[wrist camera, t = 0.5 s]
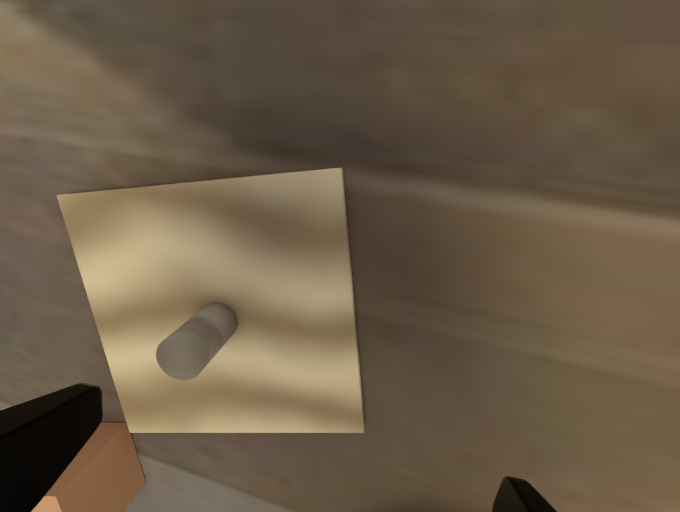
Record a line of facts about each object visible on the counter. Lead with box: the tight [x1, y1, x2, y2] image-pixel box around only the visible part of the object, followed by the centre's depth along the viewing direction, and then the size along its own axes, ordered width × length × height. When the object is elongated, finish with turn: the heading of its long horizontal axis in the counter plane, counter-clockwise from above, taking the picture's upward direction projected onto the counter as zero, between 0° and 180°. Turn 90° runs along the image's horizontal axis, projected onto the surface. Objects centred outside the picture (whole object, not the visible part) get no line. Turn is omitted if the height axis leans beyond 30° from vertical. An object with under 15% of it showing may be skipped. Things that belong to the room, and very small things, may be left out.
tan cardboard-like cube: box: [31, 423, 145, 512], centre depth 24 cm, size 6×6×6 cm
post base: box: [57, 168, 365, 433], centre depth 19 cm, size 18×18×6 cm
